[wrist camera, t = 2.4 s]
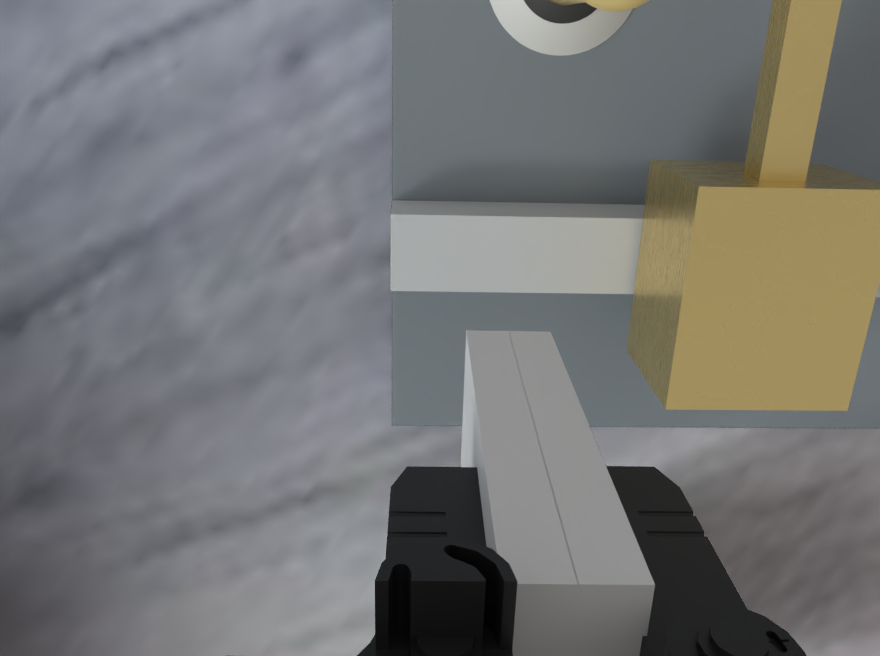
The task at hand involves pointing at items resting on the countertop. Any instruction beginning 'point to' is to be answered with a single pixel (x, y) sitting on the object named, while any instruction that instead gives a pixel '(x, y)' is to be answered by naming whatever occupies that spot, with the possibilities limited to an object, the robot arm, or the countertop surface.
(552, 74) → the gauge board
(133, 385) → the countertop surface
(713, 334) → the pointer
